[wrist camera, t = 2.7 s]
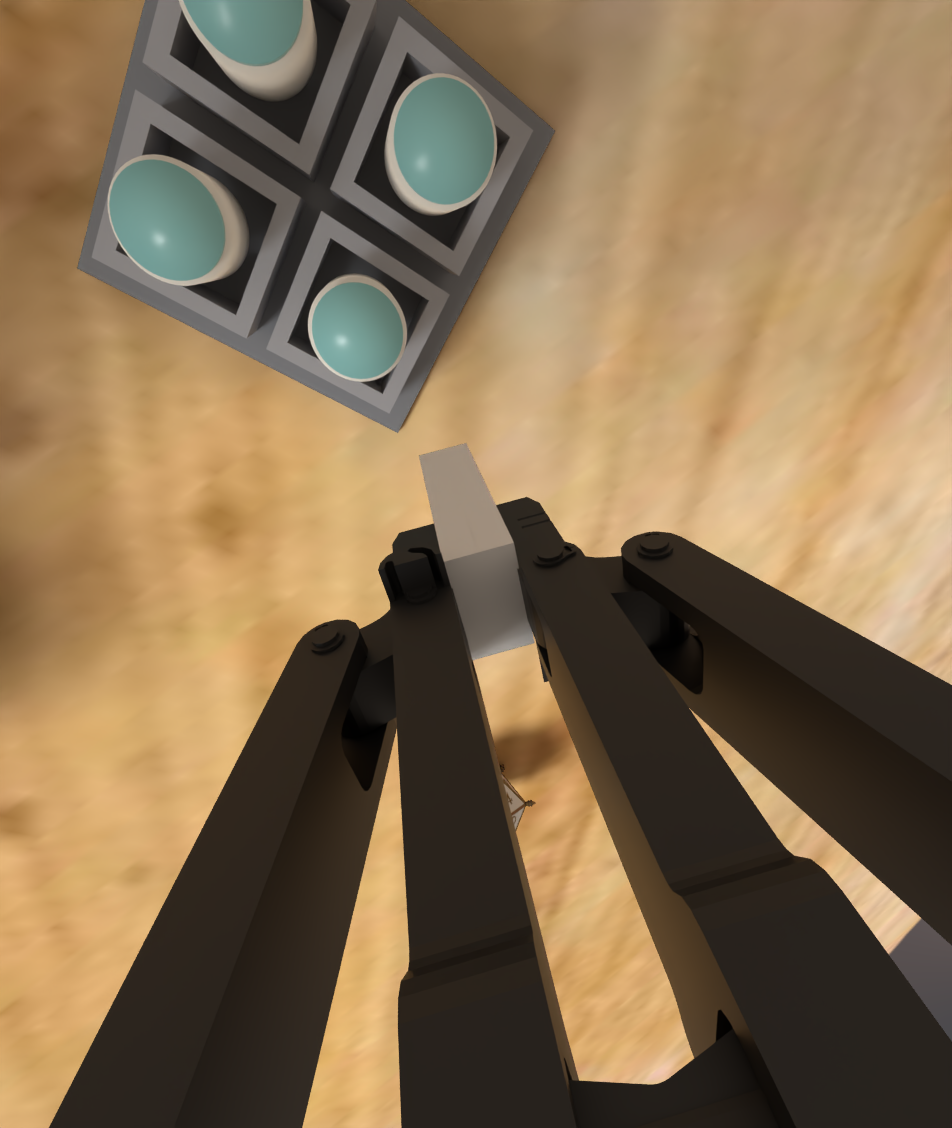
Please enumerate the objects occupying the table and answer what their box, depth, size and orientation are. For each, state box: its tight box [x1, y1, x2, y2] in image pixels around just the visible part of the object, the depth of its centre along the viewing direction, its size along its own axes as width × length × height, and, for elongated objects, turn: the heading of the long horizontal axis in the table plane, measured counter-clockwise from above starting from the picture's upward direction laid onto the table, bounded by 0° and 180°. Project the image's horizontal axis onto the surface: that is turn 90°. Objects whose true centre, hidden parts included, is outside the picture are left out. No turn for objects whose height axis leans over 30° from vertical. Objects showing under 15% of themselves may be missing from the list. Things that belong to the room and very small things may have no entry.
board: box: [77, 0, 555, 433], centre depth 27 cm, size 18×18×4 cm
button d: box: [107, 154, 249, 286], centre depth 23 cm, size 4×4×5 cm
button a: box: [384, 73, 497, 216], centre depth 23 cm, size 4×4×5 cm
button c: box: [179, 0, 317, 102], centre depth 20 cm, size 4×4×5 cm
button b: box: [308, 273, 407, 382], centre depth 26 cm, size 4×4×5 cm
